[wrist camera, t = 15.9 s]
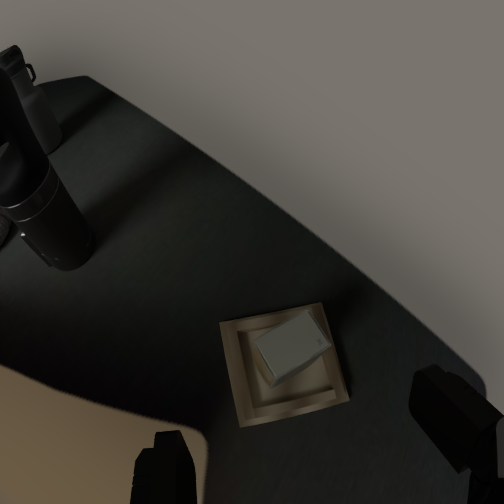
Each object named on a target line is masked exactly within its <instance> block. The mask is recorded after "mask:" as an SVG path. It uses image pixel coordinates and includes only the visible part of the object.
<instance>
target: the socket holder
mask: <svg viewBox="0 0 504 504" xmlns="http://www.w3.org/2000/svg"><path fill="white" fill-rule="evenodd" d="M305 310H309V312H310V313H311V314H312V316H313V317H314V318H315V320H316V321H317V323H318V324H319V326H320V327H321V329H322V330H323V332H324V334H325V335H326V337H327V338H328V340H329V342H330V343H331V346H330V347H329V348H328V349H327V350H326V351H325V352H324V353H323V354H322V355H321V356H320V357H319V358H318V359H317V360H316V361H315V362H313V363H312V364H311V365H310V366H309V367H307V368H306V369H304V370H303V371H301V372H300V373H298V374H297V375H295V376H293V377H292V378H290V379H288V380H287V381H285V382H283V383H281V384H279V385H278V386H276V387H274V388H272V389H269V388H268V387H267V385H266V384H265V382H264V380H263V379H262V377H261V375H260V373H259V372H258V370H257V368H256V366H255V364H254V363H253V340H254V339H255V338H257V337H259V336H260V335H262V334H264V333H265V332H267V331H269V330H270V329H272V328H274V327H275V326H277V325H279V324H281V323H282V322H284V321H286V320H288V319H289V318H291V317H293V316H295V315H297V314H299V313H301V312H303V311H305ZM219 324H220V329H221V335H222V340H223V346H224V351H225V356H226V361H227V367H228V372H229V377H230V382H231V387H232V391H233V396H234V401H235V406H236V411H237V415H238V420H239V425H240V427H245V426H251V425H256V424H261V423H266V422H270V421H275V420H280V419H284V418H288V417H292V416H296V415H300V414H304V413H308V412H312V411H316V410H319V409H323V408H326V407H330V406H333V405H336V404H340V403H343V402H346V401H349V397H348V393H347V389H346V385H345V382H344V378H343V374H342V371H341V367H340V363H339V360H338V356H337V353H336V349H335V346H334V342H333V339H332V335H331V332H330V329H329V325H328V322H327V319H326V315H325V312H324V309H323V305H322V302H319V303H315V304H310V305H306V306H301V307H297V308H292V309H287V310H282V311H277V312H272V313H267V314H262V315H257V316H252V317H247V318H241V319H236V320H231V321H225V322H219Z"/></svg>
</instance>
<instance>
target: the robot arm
mask: <svg viewBox="0 0 504 504" xmlns="http://www.w3.org/2000/svg"><path fill="white" fill-rule="evenodd" d="M6 142H9V145H8V147H7V149H6V151H5V152H4V154H3V155H2V156H1V158H0V207H1V208H2V209H3V210H4V211H5V213H6V214H7V215H8V216H9V217H10V218H11V220H12V221H13V222H14V223H15V224H16V225H17V227H18V228H19V229H20V230H21V233H20V236H21V238H22V239H23V240H24V241H25V242H26V243H27V244H28V246H29V247H30V248H31V249H32V250H33V251H34V252H35V253H36V254H37V255H38V256H39V257H40V258H41V259H42V260H43V261H44V262H45V263H46V264H47V265H48V266H49V267H50V266H54V267H56V268H57V269H59V270H62V271H69V270H73V269H76V268H78V267H79V266H81V265H82V264H83V263H84V262H85V261H86V260H87V259H88V258H89V257H90V255H91V253H92V251H93V248H94V245H95V236H94V232H93V231H92V229H91V228H90V226H89V225H88V223H87V222H86V220H85V218H84V217H83V215H82V214H81V212H80V211H79V209H78V207H77V206H76V204H75V203H74V201H73V199H72V198H71V196H70V195H69V193H68V191H67V190H66V188H65V186H64V185H63V183H62V181H61V180H60V178H59V176H58V175H57V173H56V171H55V170H54V168H53V166H52V164H51V163H50V161H49V159H48V157H47V156H46V154H45V152H44V151H43V149H42V147H41V145H40V143H39V141H38V139H37V138H36V136H35V134H34V132H33V130H32V128H31V126H30V124H29V121H28V119H27V117H26V114H25V112H24V109H23V107H22V104H21V102H20V99H19V96H18V94H17V91H16V89H15V87H14V84H13V82H12V80H11V78H10V76H9V75H8V73H7V72H6V71H5V70H4V69H2V68H0V146H2V145H3V144H4V143H6ZM408 405H409V411H410V413H411V415H412V417H413V418H414V419H415V421H416V422H417V423H418V424H419V426H420V427H421V428H422V429H423V431H424V432H425V433H426V434H427V435H428V437H429V438H430V439H431V440H432V442H433V443H434V444H435V445H436V447H437V448H438V449H439V450H440V452H441V453H442V454H443V455H444V457H445V458H446V459H447V460H448V462H449V463H450V464H451V465H452V467H453V468H454V469H455V470H456V472H457V473H458V474H460V473H461V472H463V471H464V470H466V469H468V468H470V470H471V471H472V472H471V474H470V480H469V491H468V501H467V504H504V415H503V414H502V413H501V412H499V411H498V410H497V409H496V408H495V407H494V406H493V405H492V404H491V403H489V402H488V401H487V400H486V399H485V398H484V397H483V396H482V395H481V394H480V393H477V391H476V390H475V389H474V388H473V387H472V386H471V387H470V384H468V383H467V382H466V381H465V380H464V379H463V378H462V377H460V376H458V375H455V374H453V373H451V372H447V373H446V372H445V371H443V370H442V369H441V368H440V367H439V366H438V365H436V364H432V365H430V366H427V367H425V368H423V369H420V370H418V371H416V372H415V373H414V376H413V382H412V387H411V392H410V397H409V404H408ZM132 485H133V487H132V491H131V499H130V504H197V493H196V492H197V491H196V473H195V466H194V462H193V459H192V456H191V454H190V452H189V450H188V447H187V445H186V443H185V440H184V438H183V436H182V434H181V432H180V430H174V431H164V432H156V434H155V439H154V448H144V449H143V450H142V451H141V453H140V454H139V456H138V457H137V459H136V461H135V467H134V476H133V482H132Z"/></svg>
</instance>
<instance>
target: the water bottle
mask: <svg viewBox="0 0 504 504" xmlns="http://www.w3.org/2000/svg"><path fill="white" fill-rule="evenodd" d="M26 67H28V68H29V69H30V71H31V73H32V76H33V78H32V80H31V78H30V76H29V73H28V71H27V68H26ZM0 68H2V69H4V70H5V71H6V72H7V73H8V75H9V76H10V78H11V80H12V82H13V84H14V87H15V89H16V91H17V94H18V96H19V99H20V102H21V104H22V107H23V109H24V112H25V114H26V117H27V119H28V121H29V124H30V126H31V128H32V130H33V132H34V134H35V136H36V138H37V139H38V141H39V143H40V145H41V147H42V149H43V151H44V152H45V154H46V155H48V154H50V153H51V152H52V151H54V150H55V149H56V148H57V147H58V145H59V144H60V143H61V141H62V137H63V134H62V131H61V129H60V127H59V125H58V123H57V120H56V118H55V116H54V114H53V112H52V109H51V107H50V105H49V102H48V100H47V98H46V95H45V93H44V91H43V89H42V88H41V87H38V86H34V85H33V83H32V82H34V81H35V79H36V75H35V72H34V70H33V67H32V65H31V64H25V61H24V58H23V54H22V52H21V50H20V48H19V47H18V46H17V45H13V46H11V47H10V48H8V49H6V50H4V51H2V52H0Z"/></svg>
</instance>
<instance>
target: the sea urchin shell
mask: <svg viewBox="0 0 504 504" xmlns="http://www.w3.org/2000/svg"><path fill="white" fill-rule="evenodd" d="M10 225H11V218H10V217H9V216H8V215H7V214H6V213H5V211H4V210H3V209H2V208H1V207H0V246H1V245H2V243H4V240H5V238H6V236H7V234H8V231H9V227H10Z"/></svg>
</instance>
